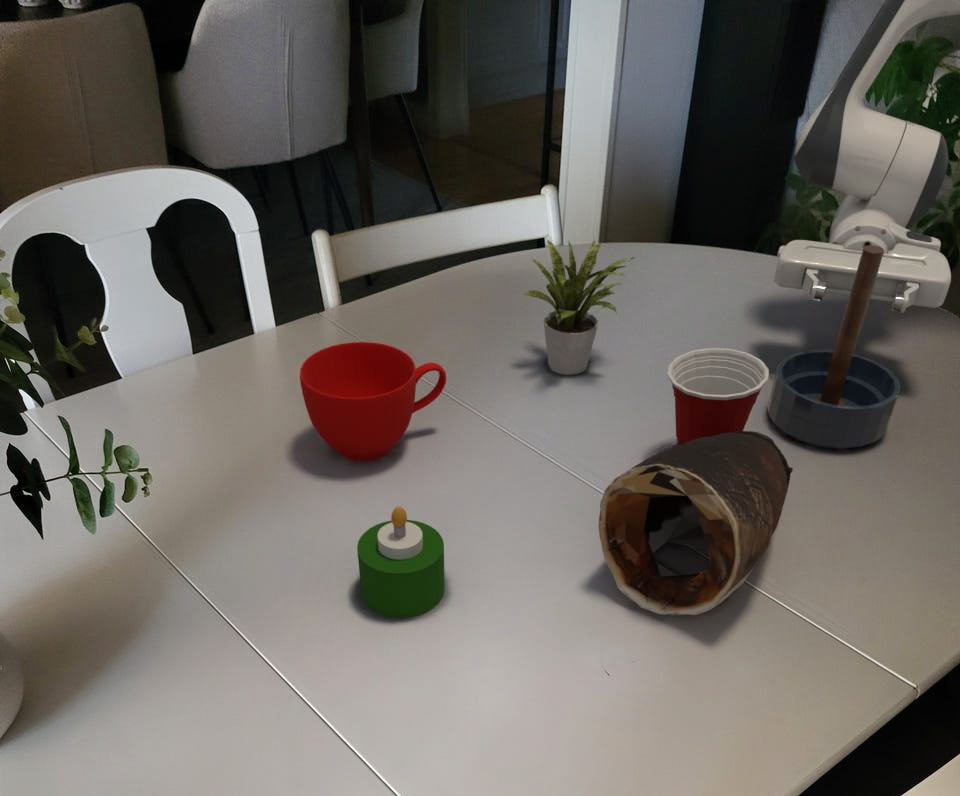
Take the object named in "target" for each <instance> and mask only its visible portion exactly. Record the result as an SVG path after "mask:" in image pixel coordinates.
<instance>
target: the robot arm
mask: <svg viewBox="0 0 960 796" xmlns="http://www.w3.org/2000/svg"><path fill="white" fill-rule="evenodd" d="M951 16H960V0H885V1H884V2H883V4H882V6H880V8H879V10H878V11H877V13H876V14H875V16H874V17H873V19H872V21H871V23H870V25H869V26H868V28H867V29H866V31H865V33H864V34H863V37H862V38H861V39H860V41H859V43H858V44H857V46H856V47H855V49H854V51H853V52H852V53H851V56H850V58H849V59H848V61H847V62H846V64H845V65H844V68H843V69H842V71H841V73H840V74H839V76H838V78H837V79H836V81H835V83H834V85H833V86H832V88H831V89H830V91H829V93H828V94H827V96H826V97H825V98H824V99H823V101H822V102H821V103H820V104H819V106H818V107H816V109H815V111H813V113H812V114H811V115H810V117H809V118H808V120H807V121H806V123H805V125H804V126H803V128H802V130H801V132H800V134H799V136H798V139H797V142H796V146H795V149H794V156H793V160H794V163H795V167H796V168H797V171H798V173H799V176H800V177H801V178H802V180H803V181H804V183H805V184H806V185H808V186H809V185H810V186H813V187H816V188H817V187H818V188H821V189H826V190H830V191H831V190H834V191H837V192H839V193H843V194H847V195H846V196H845V197H844V198H843V200H842V201H841V202H840V205H839V206H838V207H837V209H836V211H835V213H834V216H833V217H832V218H833V219H832V221H831V226H830V230H829V238H828V242H822V241H814V240H807V239H794V240H791V241H789V242H788V243H787V244H786V245H781V246H779V248H778V250H777V254H776V256H777V259H778V261H777V264H776V270H775V274H774V278H773V281H774V283H775V284H776V285H777V286H778V287H781V288H786V289H793V290H794V289H795V290H801V291H804V292H805V293H806V294H807V295H809V300H810V301H817V302H822V301H823V300H824V295H825V294H830V295H837V296H846V297H850V293H851V289H852V286H853V282H854V279H855V275H856V272H857V268H858V265H859V261H860V258H861V254H862V251H863V248H864V247H865V246H867V245H874V246H879V247H881V248H883V249H884V253H883V257H882V260H881V263H880V267H879V270H878V274H877V277H876V280H875V284H874V287H873V290H872V294H871V297H870V300H873V301H879V302H887V303H892V304H891V306H890V307H891V308H890V309H891V312H895V313H902V314H905V312H906V309H907V308H909V307H910V306H916V307H917V306H918V307H924V308H930V309H936V308H939V307H942V305H943V304H944V302H945V300H946V297H947V294H948V293H949V290H950V289H949V288H950V285H951V282H952V273H951V272H952V271H951V268H950V264H949V261H948V259H947V257H946V256H945V255H944V254H943V253H942V252H940V251H941V246H942V242H941V240H940V239H939V238H936V237H933V236H929V235H926V234H923V233H919V232H917V231H913V230H910V228H913V226H915V225H916V224H918V223H919V222H920V221H921V220H923V219H924V218H925V216H926V215H927V214H928V213H929V211H930V209H931V208H932V206H933V204H934V202H935V200H936V199H937V197H938V195H939V193H940V190H941V188H942V186H943V183H944V181H945V177H946V174H947V171H948V165H949V151H948V146H947V141H946V139H945V137H944V135H943V133H942V132H940V131H937V130H935V129H931V128H929V127H927V126H924V125H921V124H918V123H915V122H912V121H909V120H903V119H901V118H898V117H895V116H891V115H889V114H886V113H883V112H879V111H877V110H875V109H871V108H869V107H867V106H866V104H865V103H864V98H865V95H866V94H867V93H868V91H869V89H870V87H872V84H873V83H874V82H875V80H876V78H877V77H878V75H879V74H880V72H881V70H882V68H883V67H884V65H885V64H886V63H887V60H888V59H889V58H890V56H891V55H892V53H893V51H894V49H895V48H896V46H897V44H898V43H899V42H900V40H901V39H902V37H903V36H904V35H905V34H906V33H907V32H908V31H909V30H911V29H912V28H913V27H914V26H917V25H918V24H920V23H923V22H924V21H928V20H931V19H936V18H943V17H951Z"/></svg>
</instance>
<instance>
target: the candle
mask: <svg viewBox="0 0 960 796" xmlns="http://www.w3.org/2000/svg"><path fill="white" fill-rule="evenodd" d="M356 549H357V551H356V552H357V560H358V561H357V562H358V570H359V571H358V572H359V581H360V591H361V593H360V594H361V597H362V599H363V602H364V603H365V604H366V606H367V607H368V608H370V609H371V610H372V611H374V612H377V613H378V614H380V615H384V616H386V617H387V616H388V617H393V618H409V617H415V616H420V615H422V614H425V613H427V612H429V611H430V610H432V609H434V608H435V607H437V605H439V603H440V602H441V601H442V600H443V597H444V594H445V589H446V588H445V587H446V586H445V581H446V580H445V543H444V539H443V537H442V535H441V534H440V533H439V531H438V530H437V529H435V528H434V527H432V526H431V525H428V524H427V523H424V522H421V521H418V520H410V519H408V515H407V512H406V510H405V508H403V507H402V506H396V507H394V508H393V510H392V513H391V517H390V520H387V521H383V522H380V523H377V524H375V525H373V526H371V527H370V528H368V529H367V530H366V531H364V532H363V534H362V535H361V536H360V537H359V539H358V541H357V545H356Z"/></svg>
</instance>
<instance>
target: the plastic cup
mask: <svg viewBox="0 0 960 796" xmlns="http://www.w3.org/2000/svg"><path fill="white" fill-rule="evenodd" d="M769 371H770V370H769V368H768V367H767V364H765V363H764V361H763V360H762V359H760V358H758V357H756V356H754V355H753V354H751V353H749V352H745V351H741V350H737V349H734V348H720V347H707V348H700V349H694V350H691V351H688V352H686V353H683V354H681V355H678V356H677V357H675V358H674V359H673V361H671V362H670V363H669V364H668V369H667V377H668V379H669V381H670V383H671V385H672V390H673V397H674V410H675V411H674V413H675V436H676V445H680V444H684V443H687V442H689V441H691V440H694V439H697V438H701V437H710V436H716V435H718V434H719V435H720V434H724V433H732V432H737V431H744V430H745V427H746V425H747V422H748V420H749V417H750V415H751V412H752V410H753V406H754V405H755V404H756V402H757V399H758V396H759V395H760V393H761V390H762V389H763V387H764V386H765V385H766V384H767V382H768V380H769Z"/></svg>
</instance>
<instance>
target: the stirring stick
mask: <svg viewBox="0 0 960 796" xmlns="http://www.w3.org/2000/svg"><path fill="white" fill-rule="evenodd" d="M883 253H884V249H883V248H881V247H879V246H874V245H867V246H865V247H864V248H863V251H862V254H861V258H860V261H859V265H858V268H857V272H856V275H855V279H854V282H853V286H852V289H851V293H850V296H848V301H847V304H846V307H845V311H844V314H843V319H842V322H841V325H840V328H839V332H838V335H837V339H836V342H835V347H834V353H833V356H832V360H831V364H830V367H829V371H828V374H827V378H826V381H825V385H824V388H823V392H822V395H821V396H820V397H816V398H814V400H817V401H821V402H824V403H828V404H832V405H840V406H845V404H844V403H843V402H842V401H841V400H840V397H841V394H842V391H843V387H844V384H845V380H846V377H847V374H848V370H849V367H850V364H851V360H852V357H853V354H855V350H856V348H857V347H856V346H857V343H858V340H859V338H860V337H859V336H860V333H861V330H862V327H863V325H864V320H865V316H866V314H867V310H868V307H869V304H870V300H871V299H870V297H871V294H872V290H873V287H874V284H875V280H876V277H877V274H878V270H879V267H880V263H881V260H882V257H883Z"/></svg>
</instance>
